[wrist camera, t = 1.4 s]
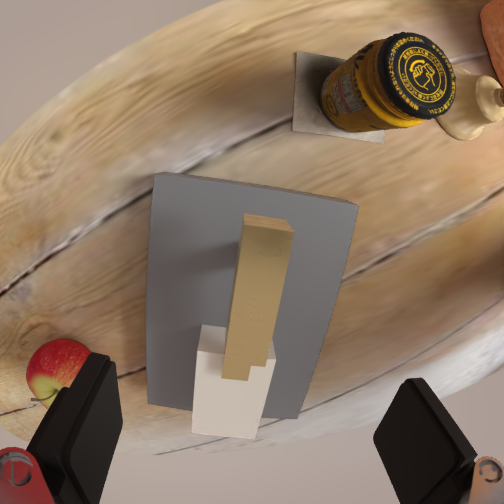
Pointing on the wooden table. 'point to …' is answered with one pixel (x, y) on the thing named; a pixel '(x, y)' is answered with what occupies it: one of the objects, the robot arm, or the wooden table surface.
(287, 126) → the wooden table surface
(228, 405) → the white rectangular block
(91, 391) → the robot arm
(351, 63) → the condiment
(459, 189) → the wooden table surface
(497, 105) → the hand bell
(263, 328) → the key
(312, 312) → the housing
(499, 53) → the bread
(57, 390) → the apple
